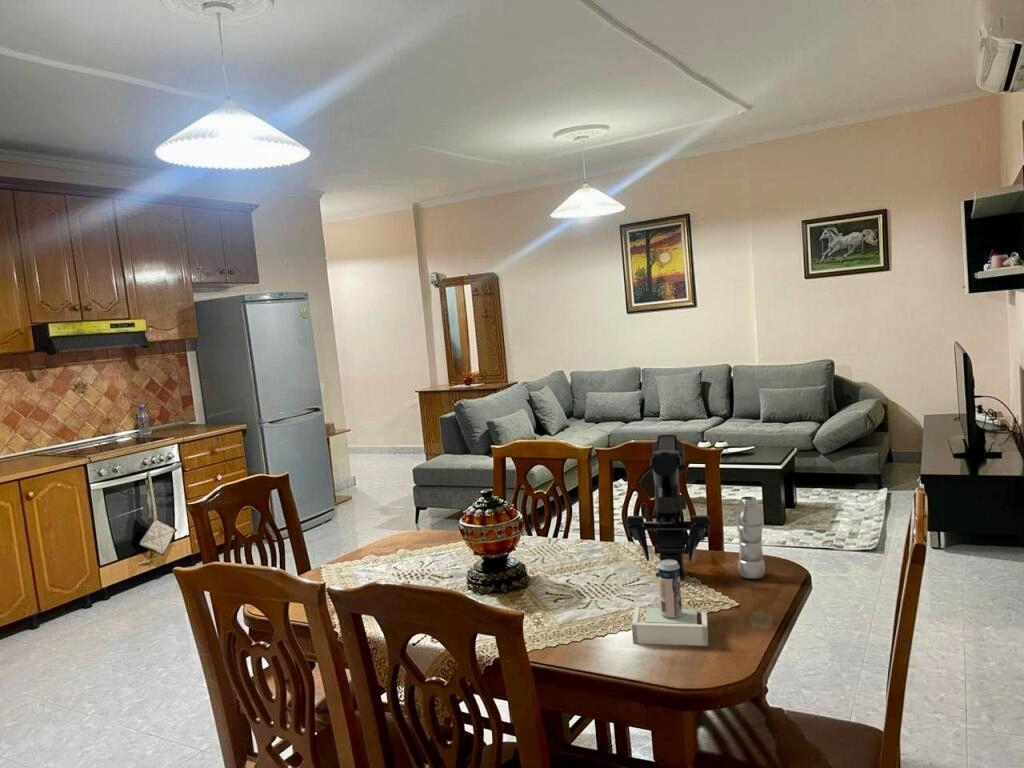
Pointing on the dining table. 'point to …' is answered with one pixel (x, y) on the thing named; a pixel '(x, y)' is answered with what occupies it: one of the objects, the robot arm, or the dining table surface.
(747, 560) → the plastic bottle
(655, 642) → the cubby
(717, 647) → the dining table surface
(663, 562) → the pill bottle
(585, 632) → the dining table surface
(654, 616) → the mat
